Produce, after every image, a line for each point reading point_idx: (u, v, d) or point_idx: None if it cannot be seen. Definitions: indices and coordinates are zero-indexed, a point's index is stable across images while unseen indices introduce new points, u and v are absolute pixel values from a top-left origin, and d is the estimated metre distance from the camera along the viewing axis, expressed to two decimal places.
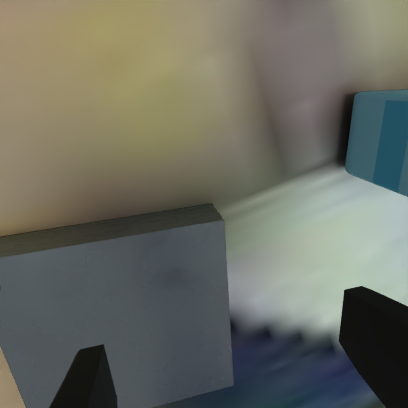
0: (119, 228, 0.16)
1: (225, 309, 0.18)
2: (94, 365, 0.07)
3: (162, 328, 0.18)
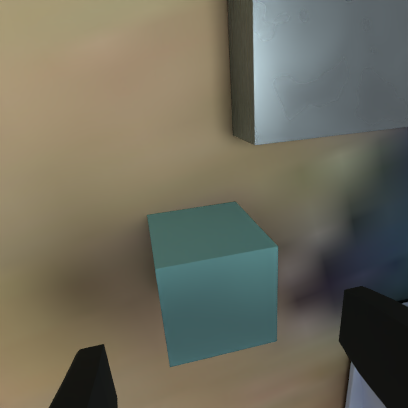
0: None
1: None
2: (94, 365, 0.07)
3: None
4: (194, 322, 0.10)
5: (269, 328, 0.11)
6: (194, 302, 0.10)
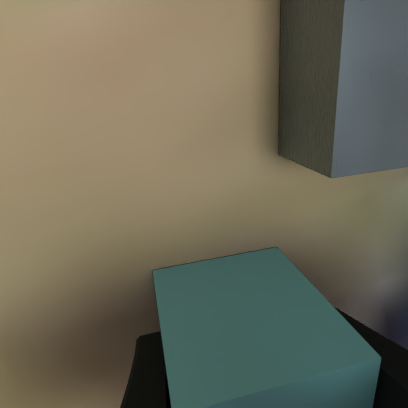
0: None
1: None
2: (160, 349, 0.07)
3: None
4: None
5: None
6: None
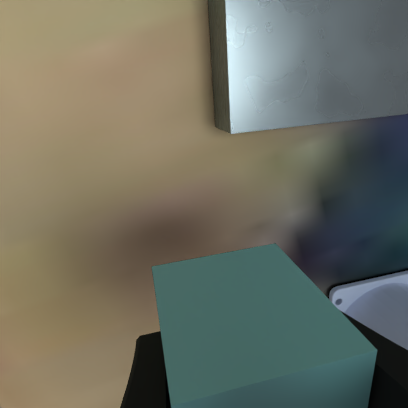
0: None
1: None
2: (160, 349, 0.07)
3: None
4: None
5: None
6: None
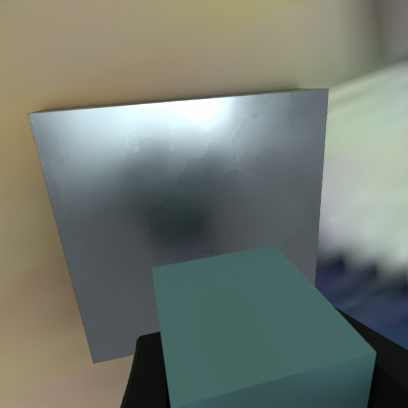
0: None
1: (315, 211, 0.15)
2: (160, 349, 0.07)
3: (243, 229, 0.15)
4: None
5: None
6: None
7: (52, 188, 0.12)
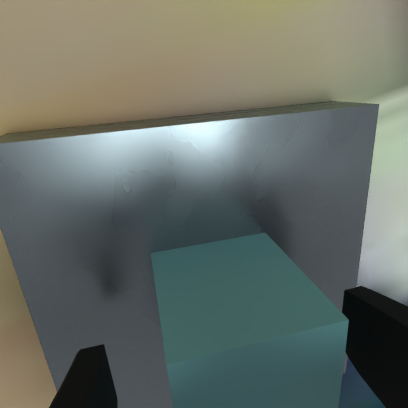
0: (213, 117, 0.10)
1: (354, 256, 0.12)
2: (94, 365, 0.07)
3: None
4: None
5: None
6: (223, 404, 0.07)
7: (13, 243, 0.09)
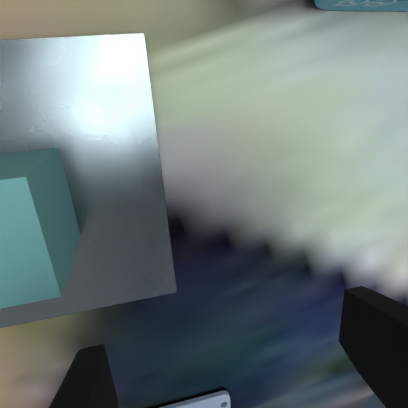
0: None
1: (157, 177, 0.14)
2: (94, 365, 0.07)
3: None
4: None
5: (46, 280, 0.10)
6: None
7: None
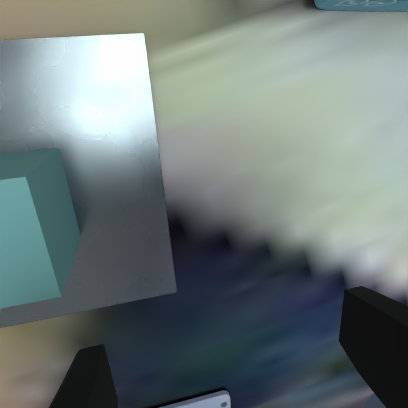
0: None
1: (157, 177, 0.14)
2: (94, 365, 0.07)
3: None
4: None
5: (46, 280, 0.10)
6: None
7: None
